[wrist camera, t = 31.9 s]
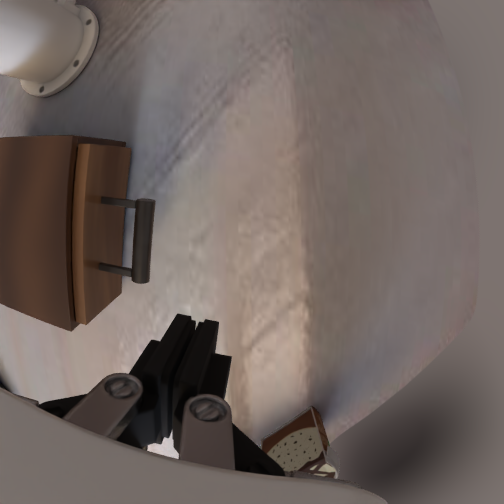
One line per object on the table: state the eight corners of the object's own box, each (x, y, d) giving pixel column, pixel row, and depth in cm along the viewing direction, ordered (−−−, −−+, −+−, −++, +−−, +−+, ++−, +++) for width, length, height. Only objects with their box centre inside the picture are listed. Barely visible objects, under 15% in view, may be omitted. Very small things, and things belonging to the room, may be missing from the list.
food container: (284, 459, 38) (285, 512, 29) (254, 443, 38) (249, 499, 28) (349, 418, 36) (363, 474, 26) (320, 399, 35) (330, 459, 25)
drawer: (179, 152, 27) (147, 147, 20) (163, 302, 31) (135, 339, 24) (31, 145, 28) (-15, 145, 20) (28, 267, 32) (-12, 288, 24)
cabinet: (126, 142, 28) (73, 135, 19) (115, 292, 33) (71, 332, 23) (24, 140, 28) (-31, 140, 19) (22, 266, 33) (-26, 291, 24)
